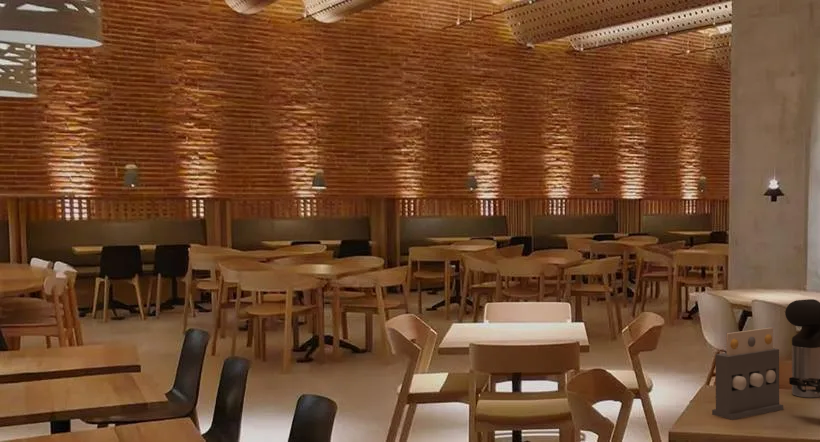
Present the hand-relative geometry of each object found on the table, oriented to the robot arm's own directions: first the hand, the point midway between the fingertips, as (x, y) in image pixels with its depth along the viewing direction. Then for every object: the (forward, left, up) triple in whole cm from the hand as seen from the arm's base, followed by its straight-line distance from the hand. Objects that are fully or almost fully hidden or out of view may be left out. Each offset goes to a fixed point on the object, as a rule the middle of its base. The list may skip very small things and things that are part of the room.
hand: (790, 380), depth 272 cm
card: (+8, -9, +9) cm, 15 cm away
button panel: (+8, -9, -11) cm, 16 cm away
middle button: (+8, -7, -2) cm, 11 cm away
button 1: (+16, -7, -2) cm, 18 cm away
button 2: (0, -9, -2) cm, 9 cm away
